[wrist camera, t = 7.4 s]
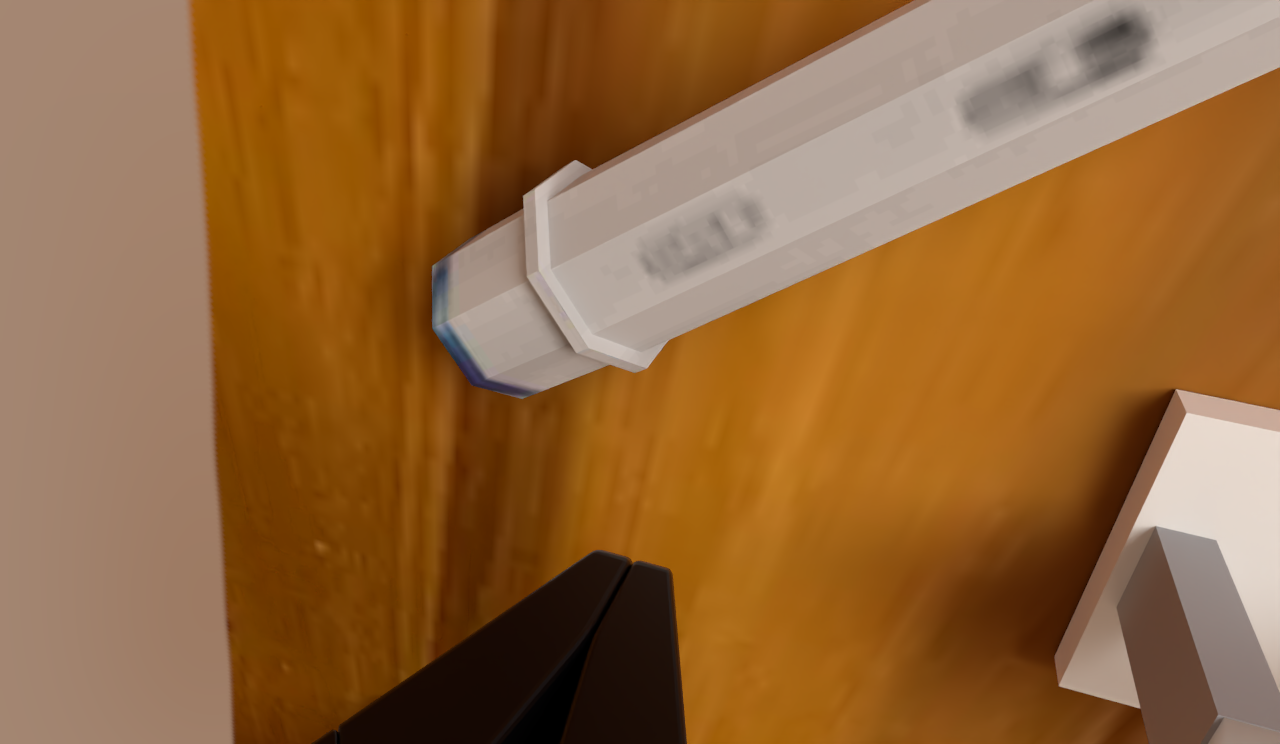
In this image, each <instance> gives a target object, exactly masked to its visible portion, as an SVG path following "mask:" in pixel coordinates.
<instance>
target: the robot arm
mask: <svg viewBox="0 0 1280 744" xmlns="http://www.w3.org/2000/svg"><path fill="white" fill-rule="evenodd" d="M312 744H687V740H686V728H685V716H684V704H683V692H682V680H681V669H680V657H679V645H678V633H677V621H676V609H675V597H674V586H673V575H672V572H671V570H670V569H668V568H666V567H662V566H659V565H655V564H651V563H648V562H644V561H636V562H634V563H632V561H631V559H630V558H628V557H626V556H622V555H618V554H614V553H611V552H607V551H603V550H596V551H593V552H591V553H590V554H588V555H587V556H585V557H584V558H582V559H581V560H579V561H578V562H576V563H575V564H573V565H572V566H571V567H569V568H568V569H566V570H565V571H563V572H562V573H560V574H559V575H557V576H556V577H555V578H553V579H552V580H550V581H549V582H547V583H546V584H544V585H543V586H541V587H540V588H539V589H537V590H536V591H534V592H533V593H531V594H530V595H528V596H527V597H525V598H524V599H522V600H521V601H520V602H518V603H517V604H515V605H514V606H512V607H511V608H509V609H508V610H506V611H505V612H504V613H502V614H501V615H499V616H498V617H496V618H495V619H493V620H492V621H490V622H489V623H487V624H486V625H485V626H483V627H482V628H480V629H479V630H477V631H476V632H474V633H473V634H471V635H470V636H469V637H467V638H466V639H464V640H463V641H461V642H460V643H458V644H457V645H455V646H454V647H452V648H451V649H450V650H448V651H447V652H445V653H444V654H442V655H441V656H439V657H438V658H436V659H435V660H434V661H432V662H431V663H429V664H428V665H426V666H425V667H423V668H422V669H420V670H419V671H418V672H416V673H415V674H413V675H412V676H410V677H409V678H407V679H406V680H404V681H403V682H401V683H400V684H399V685H397V686H396V687H394V688H393V689H391V690H390V691H388V692H387V693H385V694H384V695H383V696H381V697H380V698H378V699H377V700H375V701H374V702H372V703H371V704H369V705H368V706H366V707H365V708H364V709H362V710H361V711H359V712H358V713H356V714H355V715H353V716H352V717H350V718H349V719H348V720H346V721H345V722H343V723H342V724H340V726H339V729H338V732H337V731H336V730H331V731H329V732H328V733H327V734H325V735H324V736H322V737H321V738H319V739H318V740H316V741H315V742H313V743H312Z"/></svg>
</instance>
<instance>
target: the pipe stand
mask: <svg viewBox="0 0 1280 744" xmlns="http://www.w3.org/2000/svg"><path fill="white" fill-rule="evenodd" d="M1054 658H1055V665H1056V672H1057V679H1058V686H1060V687H1063V688H1067V689H1071V690H1074V691H1078V692H1082V693H1085V694H1089V695H1092V696H1096V697H1100V698H1103V699H1107V700H1111V701H1114V702H1118V703H1122V704H1125V705H1129V706H1132V707H1136V708H1140V709H1141V712H1142V717H1143V721H1144V725H1145V729H1146V733H1147V737H1148V742H1149V744H1280V410H1276V409H1271V408H1266V407H1261V406H1256V405H1251V404H1246V403H1241V402H1236V401H1232V400H1227V399H1222V398H1217V397H1212V396H1207V395H1202V394H1197V393H1192V392H1188V391H1183V390H1178V389H1176V390H1175V392H1174V394H1173V397H1172V399H1171V401H1170V403H1169V405H1168V408H1167V410H1166V412H1165V414H1164V416H1163V419H1162V421H1161V423H1160V425H1159V427H1158V430H1157V432H1156V434H1155V436H1154V438H1153V441H1152V443H1151V445H1150V447H1149V449H1148V452H1147V454H1146V456H1145V458H1144V460H1143V463H1142V465H1141V467H1140V469H1139V471H1138V474H1137V476H1136V478H1135V480H1134V482H1133V485H1132V487H1131V489H1130V491H1129V493H1128V496H1127V498H1126V500H1125V502H1124V504H1123V507H1122V509H1121V511H1120V513H1119V515H1118V518H1117V520H1116V522H1115V524H1114V526H1113V529H1112V531H1111V533H1110V535H1109V537H1108V540H1107V542H1106V544H1105V546H1104V548H1103V551H1102V553H1101V555H1100V557H1099V559H1098V562H1097V564H1096V566H1095V568H1094V570H1093V573H1092V575H1091V577H1090V579H1089V581H1088V584H1087V586H1086V588H1085V590H1084V592H1083V595H1082V597H1081V599H1080V601H1079V603H1078V606H1077V608H1076V610H1075V612H1074V614H1073V617H1072V619H1071V621H1070V623H1069V625H1068V628H1067V630H1066V632H1065V634H1064V636H1063V639H1062V641H1061V643H1060V645H1059V647H1058V650H1057V652H1056V654H1055V656H1054Z"/></svg>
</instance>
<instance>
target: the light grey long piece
mask: <svg viewBox="0 0 1280 744" xmlns="http://www.w3.org/2000/svg"><path fill="white" fill-rule="evenodd" d="M1279 67H1280V0H914V1H912V2H910V3H908V4H906V5H904V6H903V7H901V8H899V9H897V10H895V11H893V12H891V13H889V14H887V15H885V16H884V17H882V18H880V19H878V20H876V21H874V22H872V23H870V24H868V25H866V26H865V27H863V28H861V29H859V30H857V31H855V32H853V33H851V34H849V35H847V36H846V37H844V38H842V39H840V40H838V41H836V42H834V43H832V44H830V45H828V46H826V47H825V48H823V49H821V50H819V51H817V52H815V53H813V54H811V55H809V56H807V57H806V58H804V59H802V60H800V61H798V62H796V63H794V64H792V65H790V66H788V67H787V68H785V69H783V70H781V71H779V72H777V73H775V74H773V75H771V76H769V77H768V78H766V79H764V80H762V81H760V82H758V83H756V84H754V85H752V86H750V87H749V88H747V89H745V90H743V91H741V92H739V93H737V94H735V95H733V96H731V97H730V98H728V99H726V100H724V101H722V102H720V103H718V104H716V105H714V106H712V107H710V108H709V109H707V110H705V111H703V112H701V113H699V114H697V115H695V116H693V117H691V118H690V119H688V120H686V121H684V122H682V123H680V124H678V125H676V126H674V127H672V128H671V129H669V130H667V131H665V132H663V133H661V134H659V135H657V136H655V137H653V138H652V139H650V140H648V141H646V142H644V143H642V144H640V145H638V146H636V147H634V148H633V149H631V150H629V151H627V152H625V153H623V154H621V155H619V156H617V157H615V158H614V159H612V160H610V161H608V162H606V163H604V164H602V165H600V166H598V167H596V168H595V169H591V168H589V167H587V166H585V165H584V164H582V163H580V162H578V161H577V160H574V161H573V162H571V163H569V164H568V165H566V166H564V167H563V168H561V169H560V170H559V171H557V172H556V173H554V174H553V175H552V176H550V177H549V178H547V179H546V180H545V181H543V182H542V183H540V184H539V185H538V186H536V187H535V188H533V189H532V190H531V191H529V192H528V193H527V194H525V195H524V196H523V204H524V208H523V209H521V210H520V211H518V212H516V213H514V214H513V215H511V216H509V217H507V218H506V219H504V220H502V221H500V222H499V223H497V224H495V225H493V226H492V227H490V228H488V229H486V230H485V231H483V232H481V233H479V234H478V235H476V236H474V237H472V238H471V239H469V240H467V241H466V242H465V243H463V244H462V245H461V246H459V247H458V248H456V249H455V250H454V251H452V252H451V253H449V254H448V255H447V256H445V257H444V258H443V259H441V260H440V261H438V262H437V263H436V264H434V265H433V266H432V329H433V330H434V332H435V333H436V335H437V336H438V337H439V339H440V340H441V342H442V343H443V345H444V346H445V348H446V349H447V350H448V352H449V353H450V355H451V356H452V358H453V359H454V360H455V362H456V363H457V365H458V366H459V368H460V369H461V371H462V372H463V373H464V375H465V376H466V378H467V379H468V381H469V382H470V383H471V385H473V386H476V387H480V388H484V389H488V390H491V391H495V392H499V393H503V394H506V395H510V396H514V397H518V398H521V399H523V398H526V397H528V396H531V395H533V394H536V393H538V392H541V391H544V390H546V389H549V388H551V387H554V386H556V385H559V384H561V383H564V382H567V381H569V380H572V379H574V378H577V377H579V376H582V375H584V374H587V373H590V372H592V371H595V370H597V369H600V368H602V367H605V366H608V365H613V366H616V367H619V368H622V369H625V370H628V371H631V372H633V373H636V372H639V371H641V370H644V369H647V367H648V366H649V365H650V364H651V362H652V361H653V360H654V358H655V357H656V356H657V354H658V353H659V352H660V351H661V349H662V348H663V347H664V345H665V344H666V343H667V342H668V340H670V339H672V338H674V337H677V336H679V335H681V334H683V333H686V332H688V331H690V330H692V329H695V328H697V327H699V326H701V325H704V324H706V323H708V322H710V321H713V320H715V319H717V318H719V317H721V316H724V315H726V314H728V313H730V312H733V311H735V310H737V309H739V308H742V307H744V306H746V305H748V304H751V303H753V302H755V301H757V300H760V299H762V298H764V297H766V296H768V295H771V294H773V293H775V292H777V291H780V290H782V289H784V288H786V287H789V286H791V285H793V284H795V283H798V282H800V281H802V280H804V279H807V278H809V277H811V276H813V275H815V274H818V273H820V272H822V271H824V270H827V269H829V268H831V267H833V266H836V265H838V264H840V263H842V262H845V261H847V260H849V259H851V258H854V257H856V256H858V255H860V254H862V253H865V252H867V251H869V250H871V249H874V248H876V247H878V246H880V245H883V244H885V243H887V242H889V241H892V240H894V239H896V238H898V237H901V236H903V235H905V234H907V233H909V232H912V231H914V230H916V229H918V228H921V227H923V226H925V225H927V224H930V223H932V222H934V221H936V220H939V219H941V218H943V217H945V216H948V215H950V214H952V213H954V212H956V211H959V210H961V209H963V208H965V207H968V206H970V205H972V204H974V203H977V202H979V201H981V200H983V199H986V198H988V197H990V196H992V195H995V194H997V193H999V192H1001V191H1003V190H1006V189H1008V188H1010V187H1012V186H1015V185H1017V184H1019V183H1021V182H1024V181H1026V180H1028V179H1030V178H1033V177H1035V176H1037V175H1039V174H1042V173H1044V172H1046V171H1048V170H1050V169H1053V168H1055V167H1057V166H1059V165H1062V164H1064V163H1066V162H1068V161H1071V160H1073V159H1075V158H1077V157H1080V156H1082V155H1084V154H1086V153H1089V152H1091V151H1093V150H1095V149H1097V148H1100V147H1102V146H1104V145H1106V144H1109V143H1111V142H1113V141H1115V140H1118V139H1120V138H1122V137H1124V136H1127V135H1129V134H1131V133H1133V132H1135V131H1138V130H1140V129H1142V128H1144V127H1147V126H1149V125H1151V124H1153V123H1156V122H1158V121H1160V120H1162V119H1165V118H1167V117H1169V116H1171V115H1174V114H1176V113H1178V112H1180V111H1182V110H1185V109H1187V108H1189V107H1191V106H1194V105H1196V104H1198V103H1200V102H1203V101H1205V100H1207V99H1209V98H1212V97H1214V96H1216V95H1218V94H1221V93H1223V92H1225V91H1227V90H1229V89H1232V88H1234V87H1236V86H1238V85H1241V84H1243V83H1245V82H1247V81H1250V80H1252V79H1254V78H1256V77H1259V76H1261V75H1263V74H1265V73H1268V72H1270V71H1272V70H1274V69H1276V68H1279Z"/></svg>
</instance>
